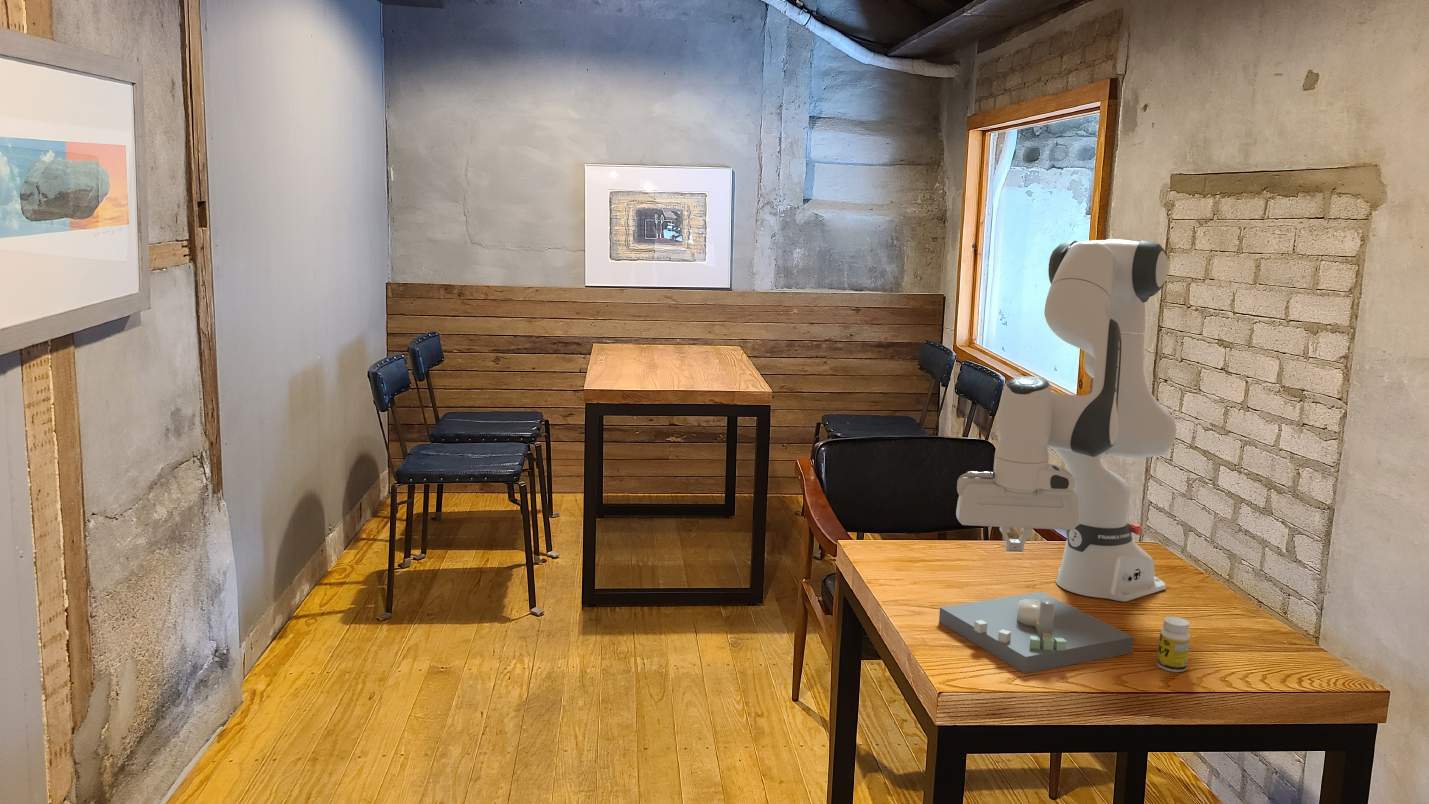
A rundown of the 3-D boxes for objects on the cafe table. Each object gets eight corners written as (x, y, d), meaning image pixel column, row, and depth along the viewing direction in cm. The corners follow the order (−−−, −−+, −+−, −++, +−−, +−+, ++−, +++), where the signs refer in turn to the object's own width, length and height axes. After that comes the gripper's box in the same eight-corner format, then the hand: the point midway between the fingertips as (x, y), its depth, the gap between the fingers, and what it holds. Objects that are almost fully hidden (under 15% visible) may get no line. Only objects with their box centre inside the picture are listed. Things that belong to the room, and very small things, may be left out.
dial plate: (1039, 606, 215) (1041, 583, 214) (1133, 653, 193) (1135, 629, 192) (935, 623, 205) (937, 599, 204) (1021, 675, 183) (1023, 649, 182)
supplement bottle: (1151, 661, 190) (1156, 615, 189) (1177, 661, 191) (1182, 615, 189) (1165, 673, 186) (1170, 626, 184) (1191, 672, 186) (1197, 626, 184)
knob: (1013, 613, 202) (1016, 580, 201) (1046, 615, 201) (1049, 581, 200) (1029, 641, 189) (1032, 605, 188) (1064, 643, 189) (1068, 607, 188)
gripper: (960, 475, 184) (955, 553, 186) (1085, 480, 182) (1077, 559, 185) (955, 465, 190) (950, 541, 193) (1076, 470, 188) (1069, 547, 191)
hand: (1013, 550), depth 189 cm, fingers closed
